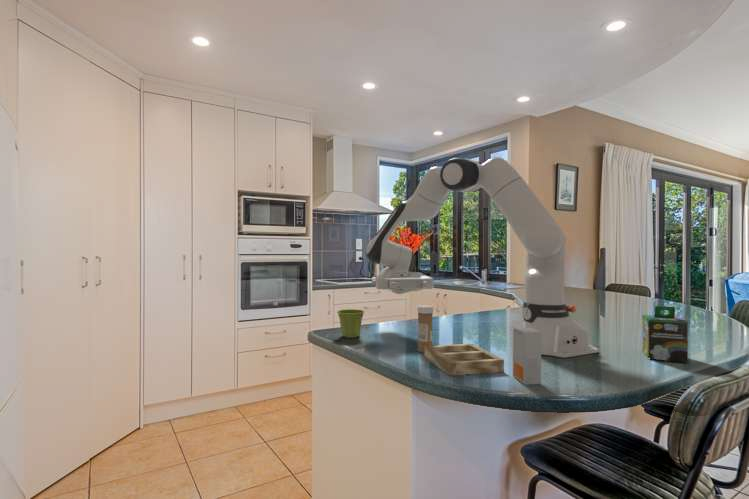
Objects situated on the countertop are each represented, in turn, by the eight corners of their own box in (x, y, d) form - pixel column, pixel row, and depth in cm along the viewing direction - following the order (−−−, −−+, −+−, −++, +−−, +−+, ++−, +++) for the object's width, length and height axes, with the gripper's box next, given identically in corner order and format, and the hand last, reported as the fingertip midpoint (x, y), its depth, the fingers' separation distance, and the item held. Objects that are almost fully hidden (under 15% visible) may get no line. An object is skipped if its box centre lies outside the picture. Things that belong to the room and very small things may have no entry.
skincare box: (512, 376, 94) (512, 326, 94) (529, 375, 95) (529, 326, 95) (523, 385, 88) (524, 332, 88) (541, 384, 89) (542, 331, 89)
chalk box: (679, 355, 114) (679, 304, 113) (688, 364, 105) (689, 309, 105) (641, 352, 117) (641, 302, 117) (647, 360, 109) (648, 306, 109)
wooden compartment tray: (471, 353, 114) (472, 343, 114) (503, 371, 98) (504, 359, 98) (424, 357, 110) (424, 346, 110) (449, 376, 94) (449, 363, 94)
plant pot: (336, 333, 140) (336, 309, 139) (363, 333, 141) (363, 308, 140) (337, 339, 130) (337, 313, 130) (365, 339, 131) (365, 313, 131)
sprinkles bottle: (435, 351, 116) (436, 306, 116) (424, 354, 113) (424, 307, 113) (425, 348, 120) (426, 304, 119) (414, 350, 117) (414, 305, 117)
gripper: (370, 272, 139) (381, 275, 125) (424, 272, 144) (440, 275, 130) (370, 290, 139) (380, 295, 125) (424, 289, 144) (440, 294, 130)
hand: (411, 285), depth 128 cm, fingers open, 8 cm apart
